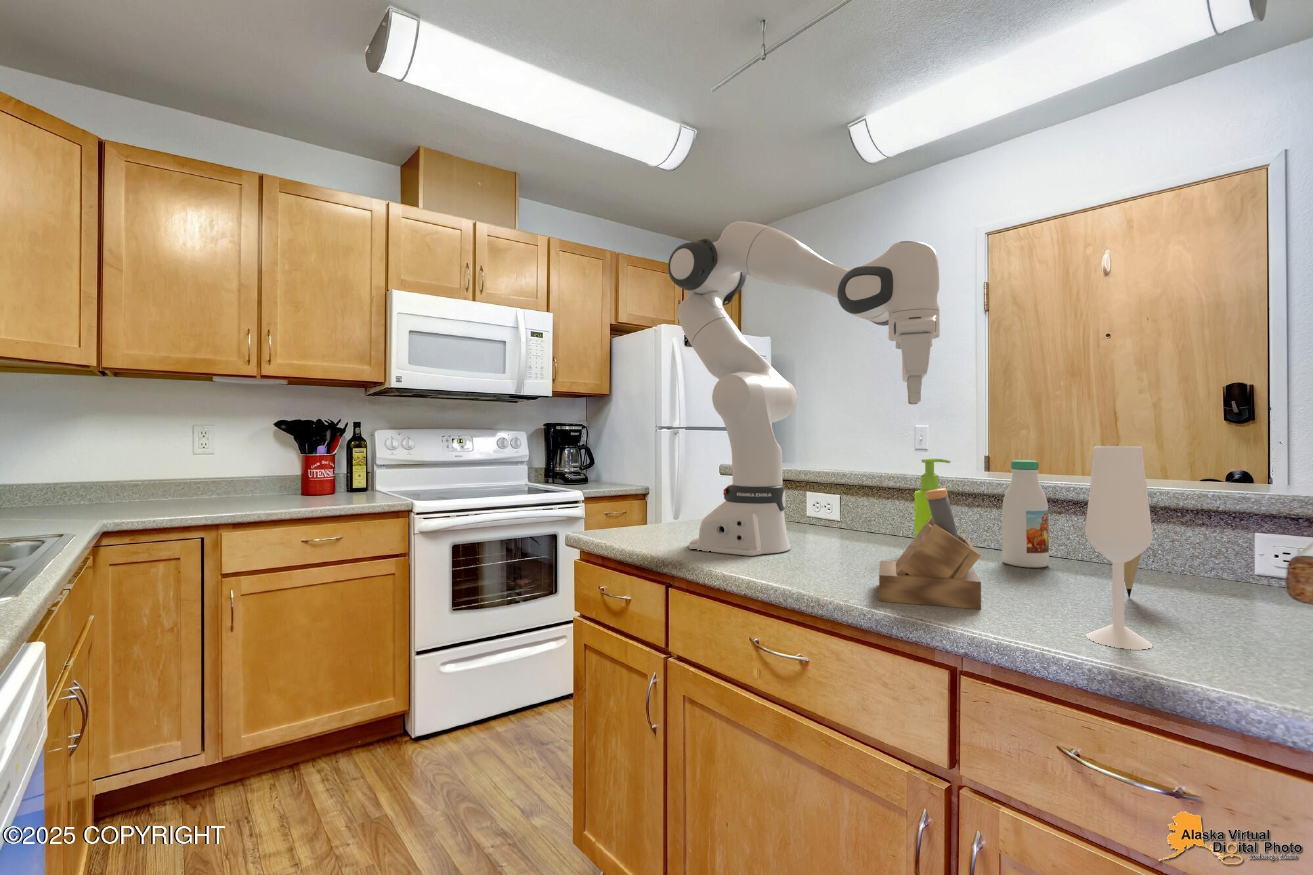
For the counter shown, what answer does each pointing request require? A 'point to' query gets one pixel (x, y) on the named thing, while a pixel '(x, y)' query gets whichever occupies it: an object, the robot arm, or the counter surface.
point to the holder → (933, 572)
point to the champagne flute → (1118, 529)
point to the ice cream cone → (1130, 572)
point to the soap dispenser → (927, 483)
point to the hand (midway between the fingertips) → (914, 403)
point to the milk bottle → (1025, 518)
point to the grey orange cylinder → (941, 510)
